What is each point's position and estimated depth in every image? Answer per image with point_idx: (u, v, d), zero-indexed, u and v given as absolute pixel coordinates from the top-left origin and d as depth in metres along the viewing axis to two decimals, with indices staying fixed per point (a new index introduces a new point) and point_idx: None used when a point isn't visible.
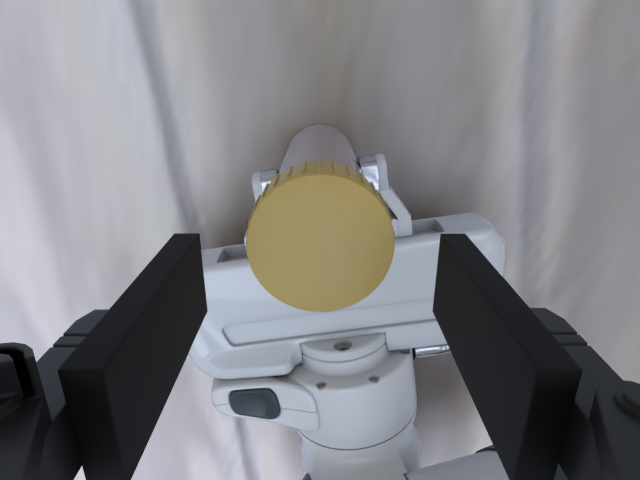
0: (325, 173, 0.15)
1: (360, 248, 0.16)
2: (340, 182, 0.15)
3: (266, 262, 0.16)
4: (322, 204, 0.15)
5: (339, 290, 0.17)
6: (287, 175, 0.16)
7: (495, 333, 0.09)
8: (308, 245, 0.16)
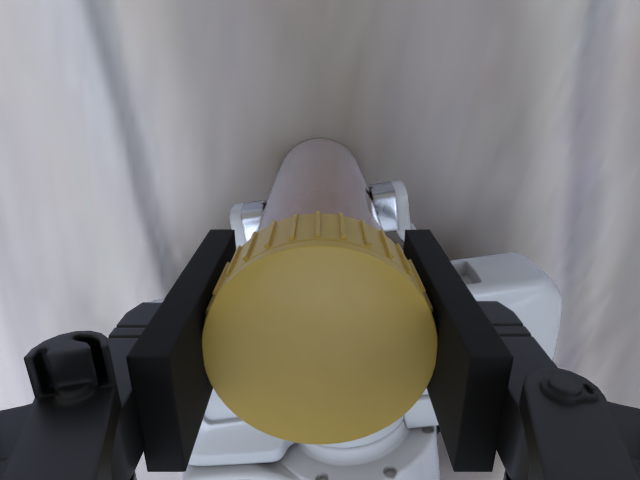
0: (328, 244, 0.09)
1: (383, 356, 0.10)
2: (352, 258, 0.09)
3: (234, 376, 0.10)
4: (323, 292, 0.10)
5: (349, 415, 0.11)
6: (266, 243, 0.10)
7: (442, 324, 0.10)
8: (300, 352, 0.10)
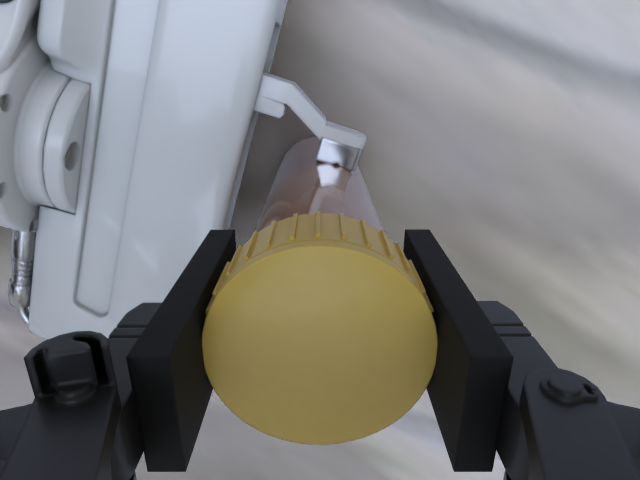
0: (329, 245, 0.09)
1: (383, 357, 0.10)
2: (353, 258, 0.09)
3: (234, 376, 0.10)
4: (323, 292, 0.10)
5: (349, 415, 0.11)
6: (267, 243, 0.10)
7: (442, 324, 0.10)
8: (300, 352, 0.10)
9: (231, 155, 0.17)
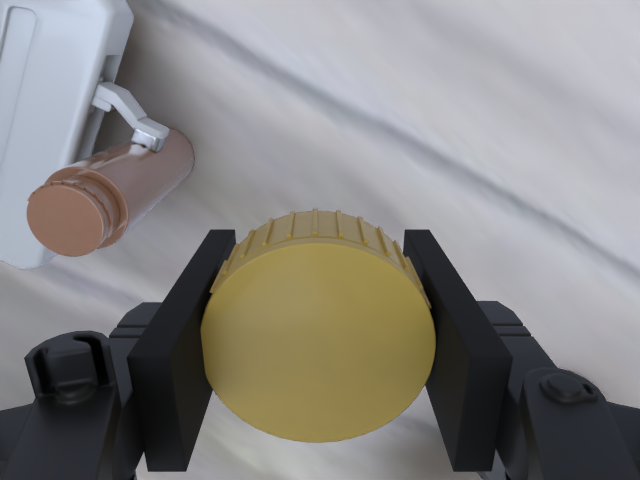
0: (325, 242, 0.09)
1: (381, 354, 0.10)
2: (350, 255, 0.09)
3: (232, 375, 0.10)
4: (320, 289, 0.10)
5: (347, 413, 0.11)
6: (263, 241, 0.10)
7: (442, 324, 0.10)
8: (298, 350, 0.10)
9: (73, 129, 0.28)
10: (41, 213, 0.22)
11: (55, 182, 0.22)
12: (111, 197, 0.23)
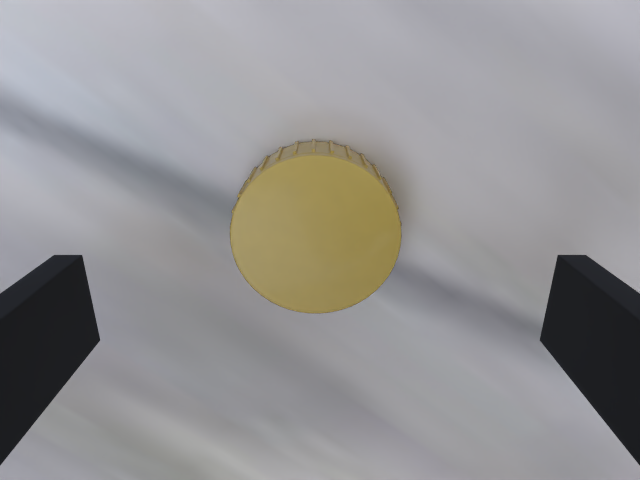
0: (321, 154, 0.13)
1: (361, 241, 0.14)
2: (338, 164, 0.13)
3: (254, 258, 0.14)
4: (317, 190, 0.13)
5: (338, 289, 0.15)
6: (276, 157, 0.14)
7: None
8: (302, 238, 0.14)
9: None
10: None
11: None
12: None
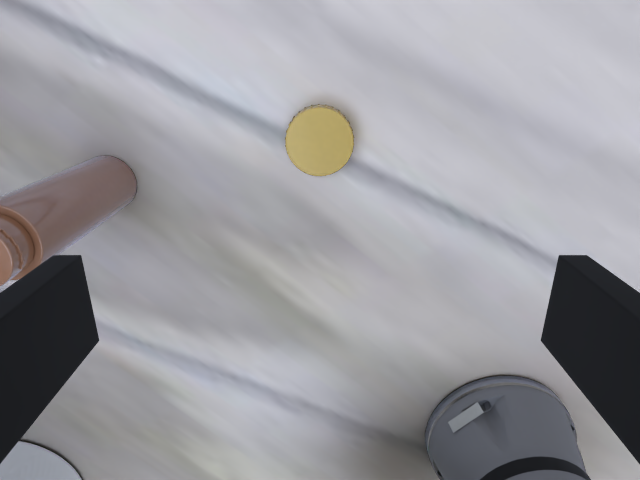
0: (321, 107, 0.34)
1: (337, 143, 0.35)
2: (328, 111, 0.34)
3: (294, 150, 0.35)
4: (320, 121, 0.35)
5: (328, 164, 0.36)
6: (304, 109, 0.35)
7: None
8: (314, 141, 0.35)
9: None
10: None
11: None
12: (23, 231, 0.25)
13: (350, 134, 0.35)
